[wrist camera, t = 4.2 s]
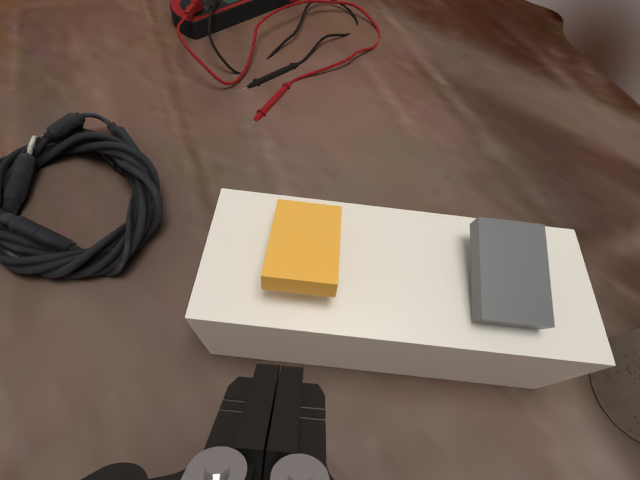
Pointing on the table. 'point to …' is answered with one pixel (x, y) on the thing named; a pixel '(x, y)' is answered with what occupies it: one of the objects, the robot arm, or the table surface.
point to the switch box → (389, 301)
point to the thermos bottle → (621, 383)
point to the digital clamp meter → (246, 3)
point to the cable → (52, 248)
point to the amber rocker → (303, 249)
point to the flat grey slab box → (510, 274)
